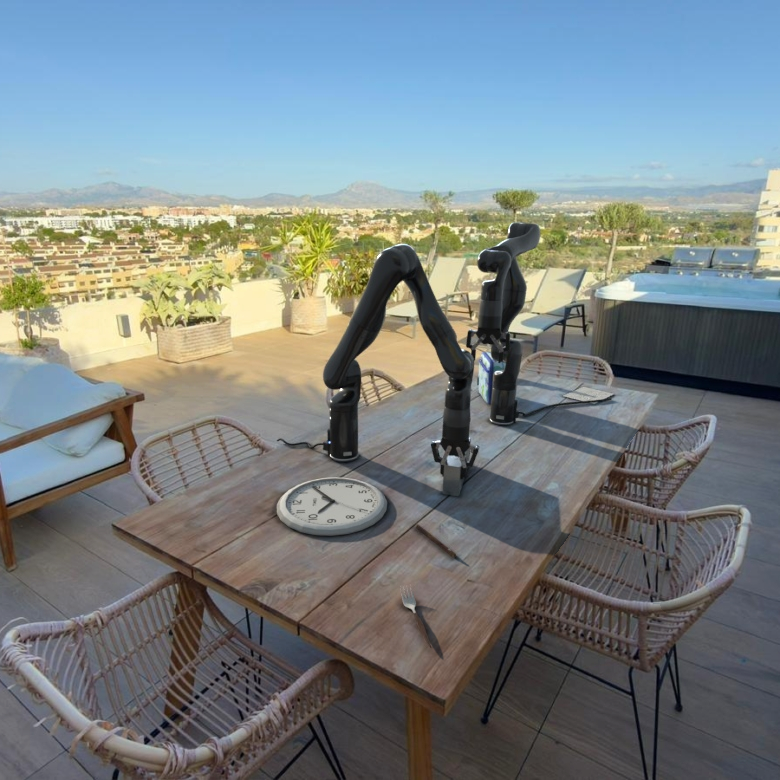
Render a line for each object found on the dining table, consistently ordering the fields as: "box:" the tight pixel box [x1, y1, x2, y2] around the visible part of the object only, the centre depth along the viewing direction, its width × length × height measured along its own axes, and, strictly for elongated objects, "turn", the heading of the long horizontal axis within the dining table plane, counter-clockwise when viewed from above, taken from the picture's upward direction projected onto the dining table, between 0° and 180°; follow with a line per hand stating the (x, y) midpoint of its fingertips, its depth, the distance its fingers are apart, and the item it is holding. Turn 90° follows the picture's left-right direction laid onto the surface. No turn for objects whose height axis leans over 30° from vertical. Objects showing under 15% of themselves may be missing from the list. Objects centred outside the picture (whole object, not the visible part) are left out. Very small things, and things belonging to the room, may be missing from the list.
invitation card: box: [562, 386, 615, 405], centre depth 241 cm, size 21×1×15 cm
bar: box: [442, 436, 472, 497], centre depth 158 cm, size 23×5×9 cm, turn 164°
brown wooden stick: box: [415, 524, 457, 559], centre depth 127 cm, size 15×1×1 cm, turn 34°
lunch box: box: [476, 351, 506, 406], centre depth 230 cm, size 26×11×21 cm, turn 179°
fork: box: [399, 584, 432, 649], centre depth 101 cm, size 3×16×2 cm, turn 16°
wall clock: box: [276, 476, 388, 537], centre depth 142 cm, size 30×2×30 cm
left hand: (453, 476), depth 151 cm, fingers closed on bar, 4 cm apart
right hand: (486, 361), depth 176 cm, fingers open, 8 cm apart
